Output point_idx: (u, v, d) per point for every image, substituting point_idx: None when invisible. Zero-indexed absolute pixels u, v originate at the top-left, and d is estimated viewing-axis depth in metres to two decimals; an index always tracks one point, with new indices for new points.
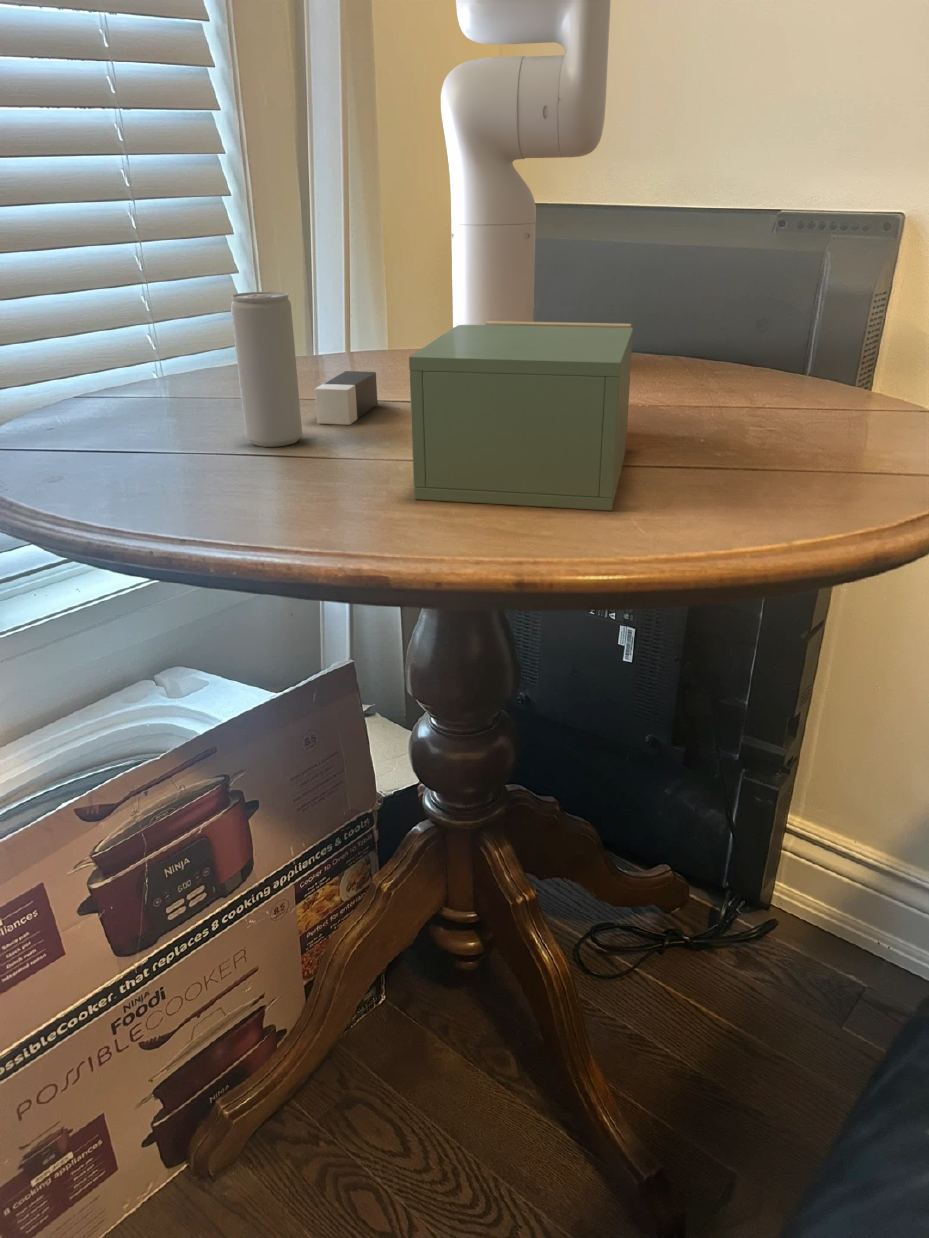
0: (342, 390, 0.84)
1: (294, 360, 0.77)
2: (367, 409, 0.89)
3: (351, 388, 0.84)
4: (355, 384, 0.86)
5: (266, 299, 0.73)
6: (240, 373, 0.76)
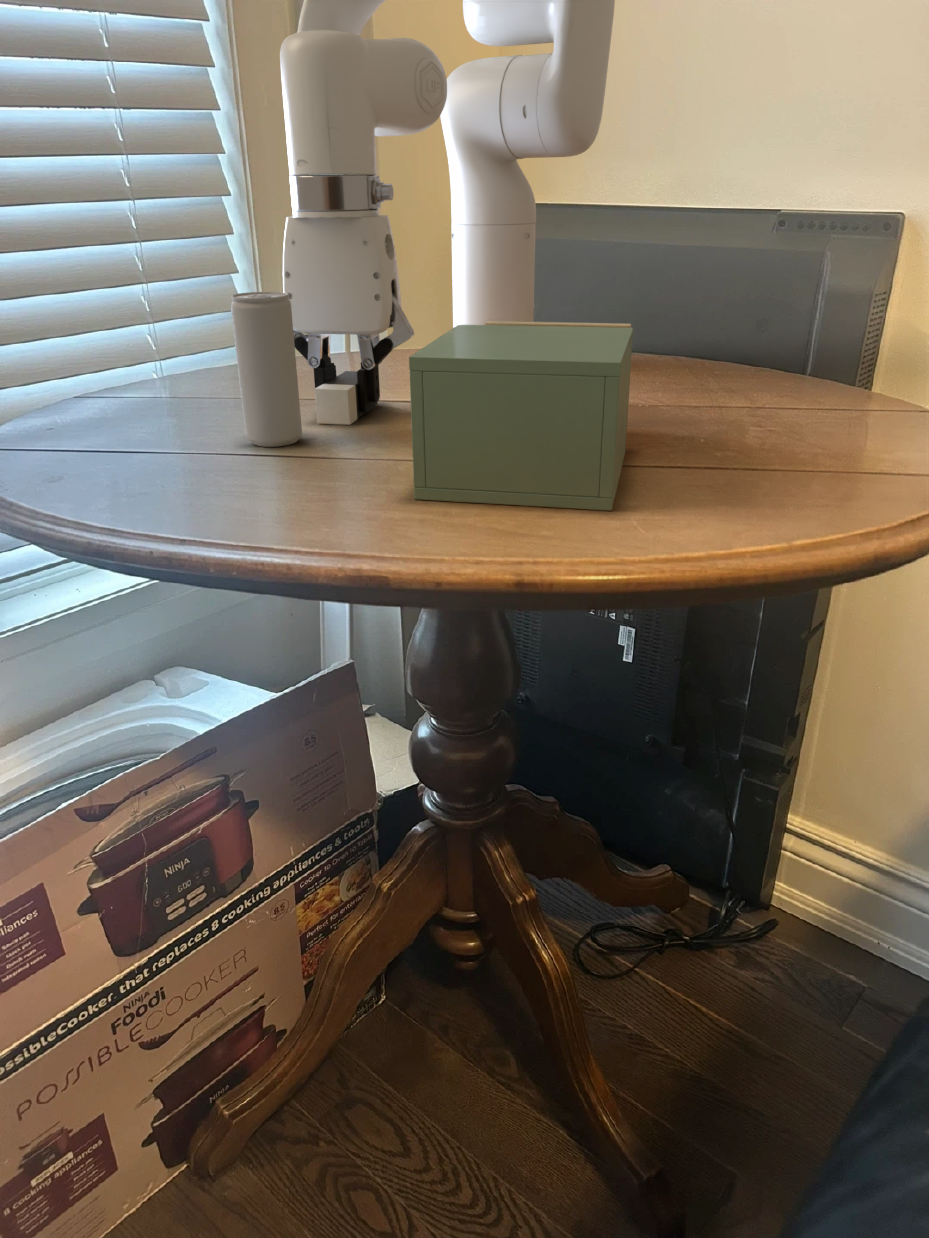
0: (342, 390, 0.84)
1: (294, 360, 0.77)
2: None
3: (351, 388, 0.84)
4: (355, 384, 0.86)
5: (266, 299, 0.73)
6: (240, 373, 0.76)
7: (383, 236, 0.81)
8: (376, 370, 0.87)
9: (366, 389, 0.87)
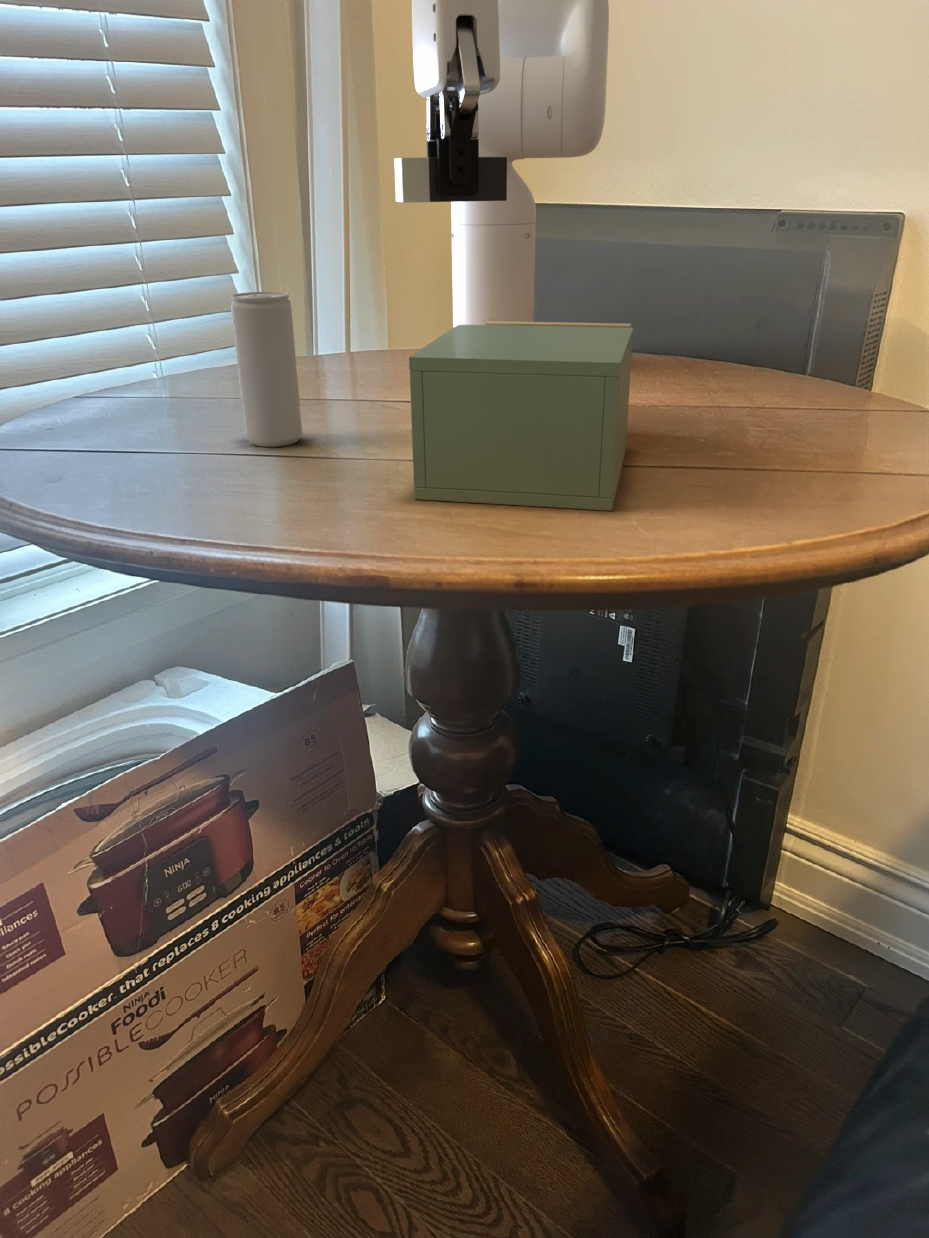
0: (400, 159, 0.72)
1: (294, 360, 0.77)
2: (467, 198, 0.74)
3: (414, 158, 0.72)
4: (432, 157, 0.73)
5: (266, 299, 0.73)
6: (240, 373, 0.76)
7: None
8: (464, 143, 0.71)
9: (445, 165, 0.72)
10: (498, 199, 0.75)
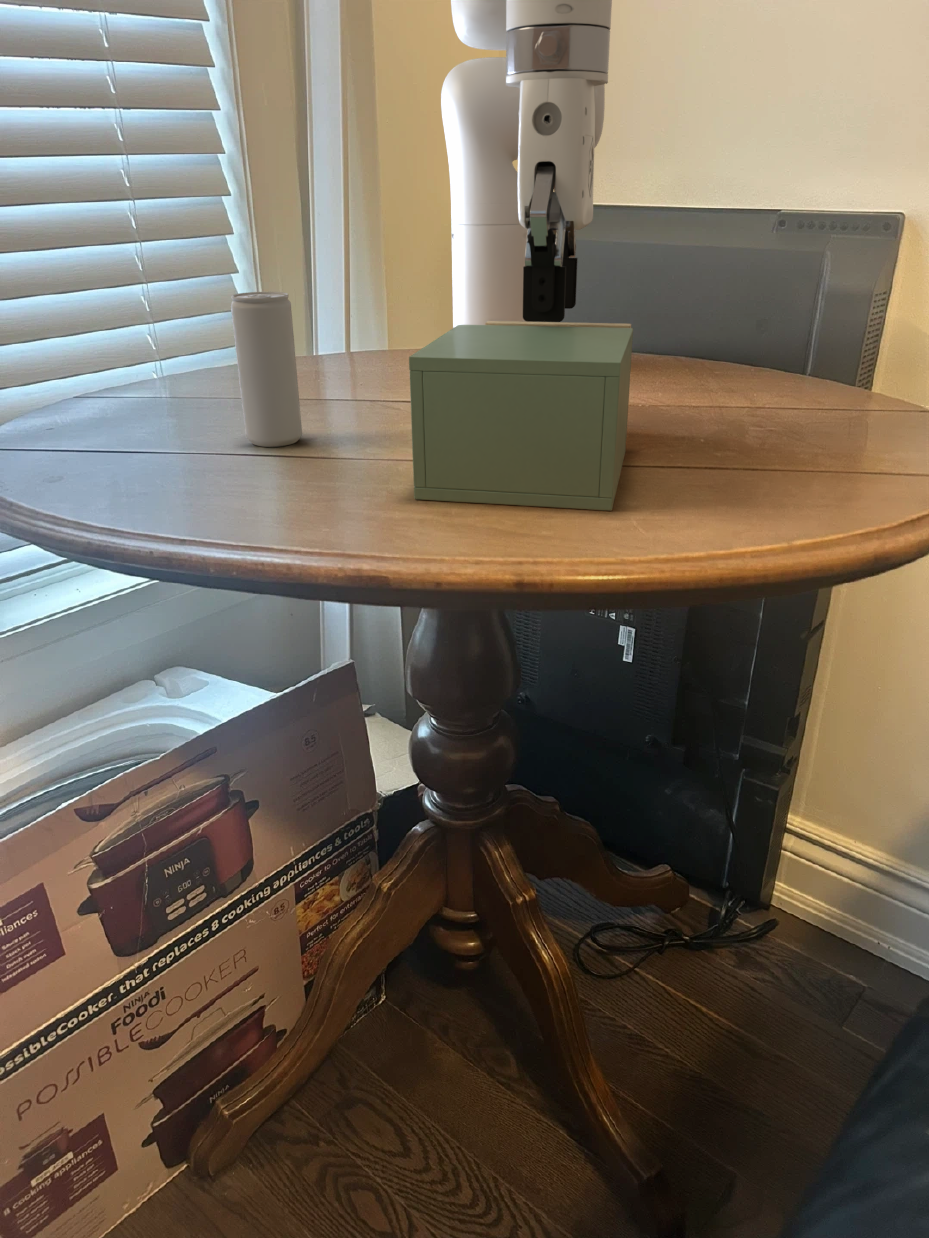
0: None
1: (294, 360, 0.77)
2: None
3: None
4: None
5: (266, 299, 0.73)
6: (240, 373, 0.76)
7: (534, 105, 0.65)
8: (546, 272, 0.69)
9: (529, 292, 0.71)
10: None
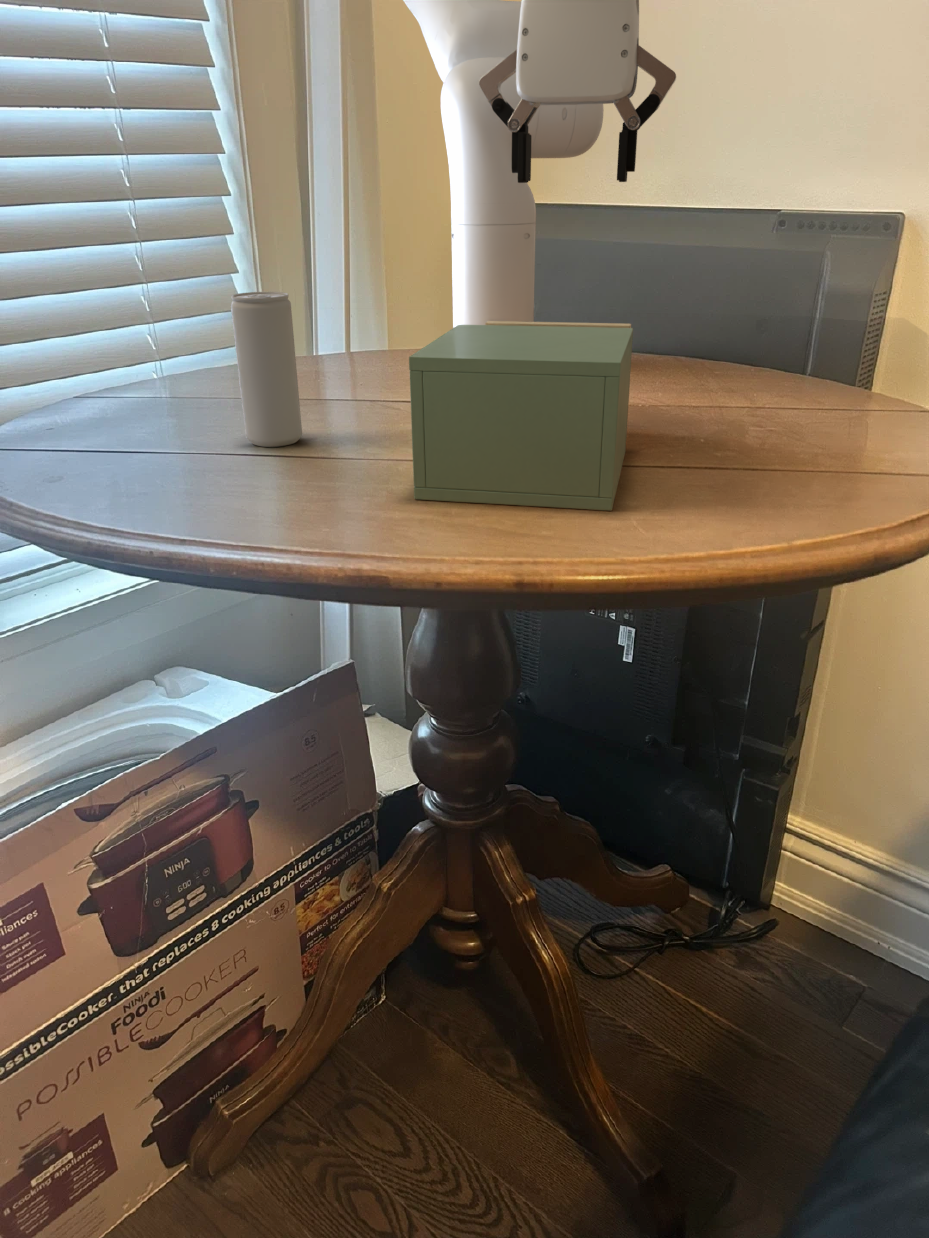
0: None
1: (294, 360, 0.77)
2: None
3: None
4: None
5: (266, 299, 0.73)
6: (240, 373, 0.76)
7: None
8: (636, 135, 0.80)
9: (626, 154, 0.80)
10: None
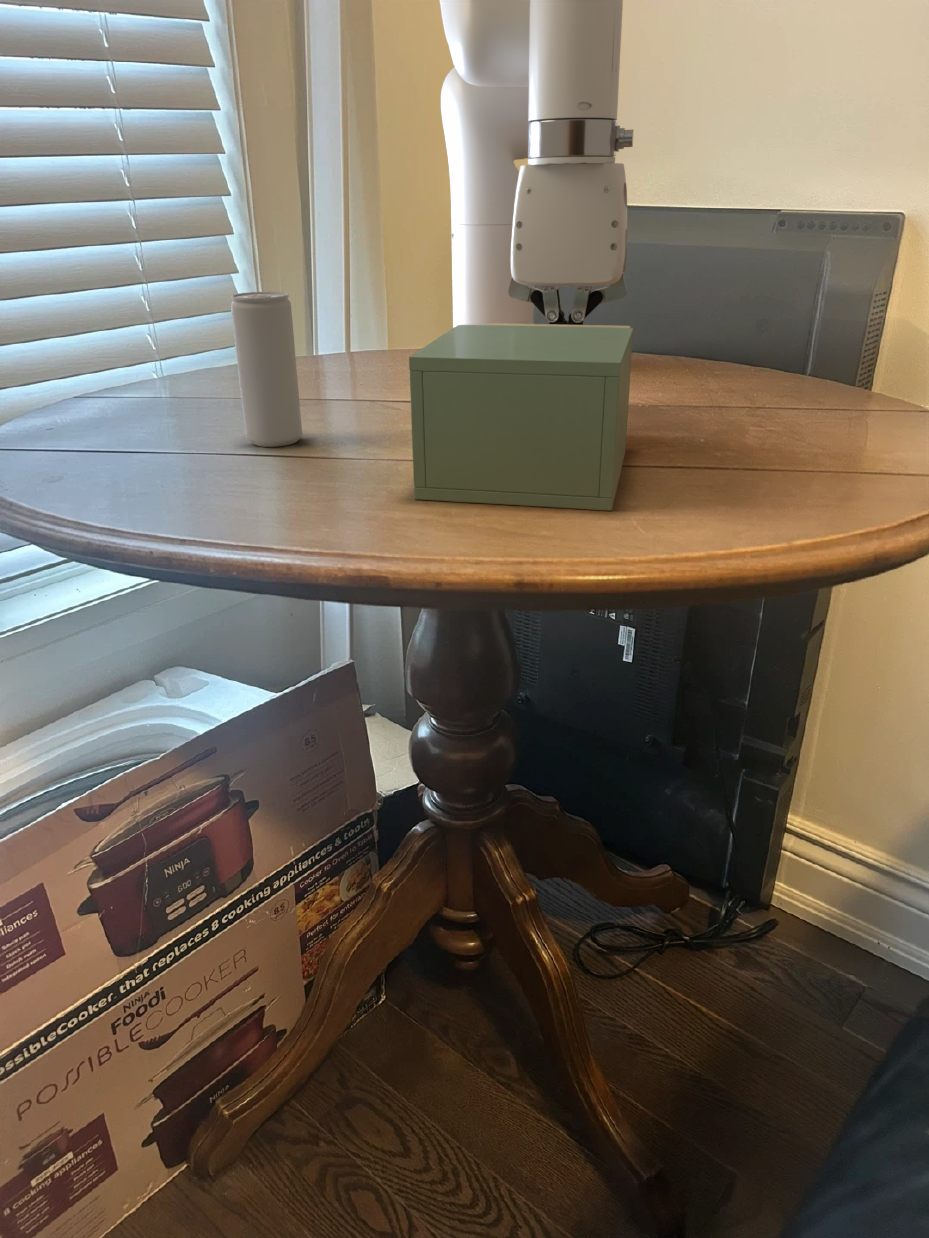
0: None
1: (294, 360, 0.77)
2: None
3: None
4: None
5: (266, 299, 0.73)
6: (240, 373, 0.76)
7: (622, 184, 0.79)
8: (582, 324, 0.86)
9: None
10: None
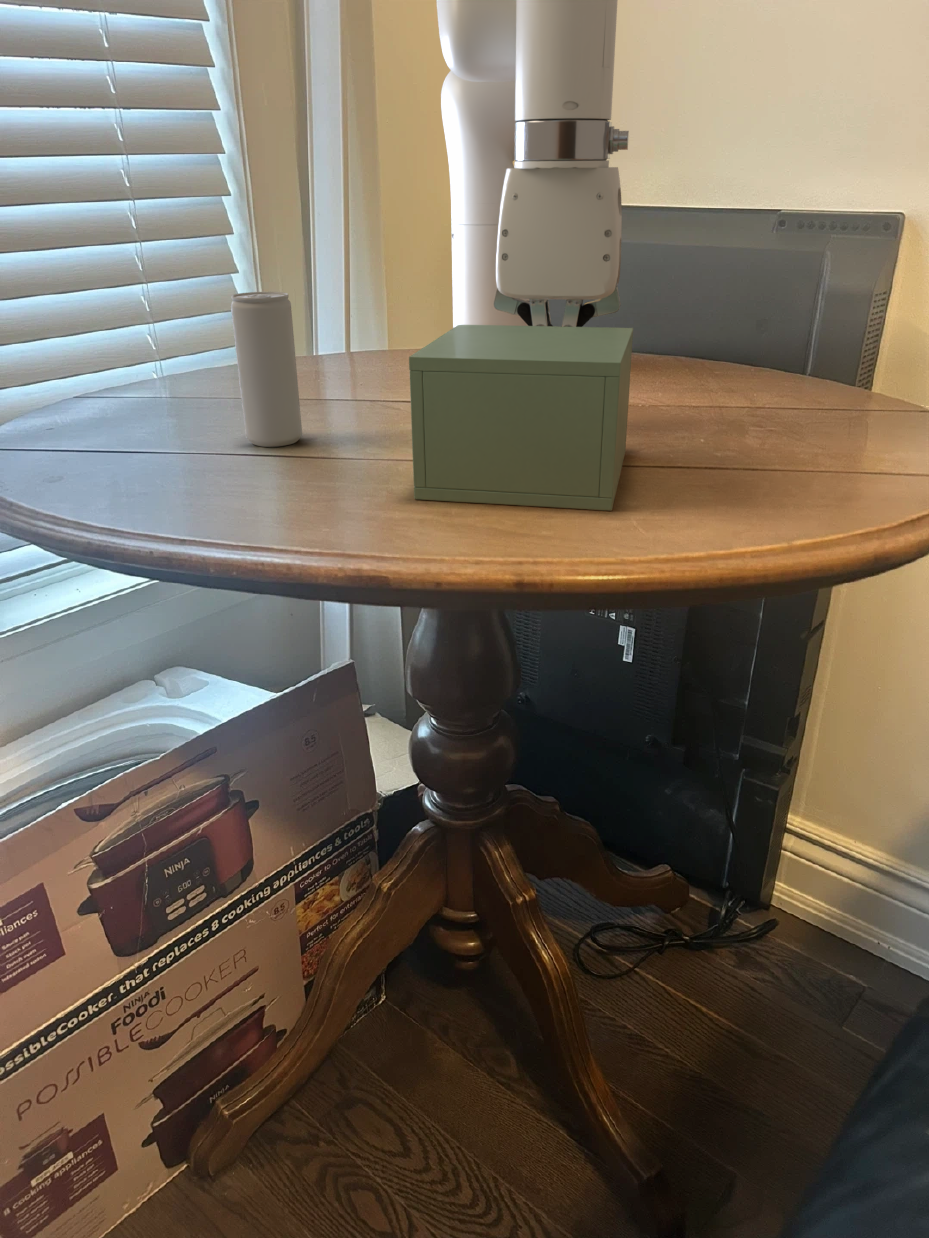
0: None
1: (294, 360, 0.77)
2: None
3: None
4: None
5: (266, 299, 0.73)
6: (240, 373, 0.76)
7: (616, 189, 0.73)
8: None
9: None
10: None
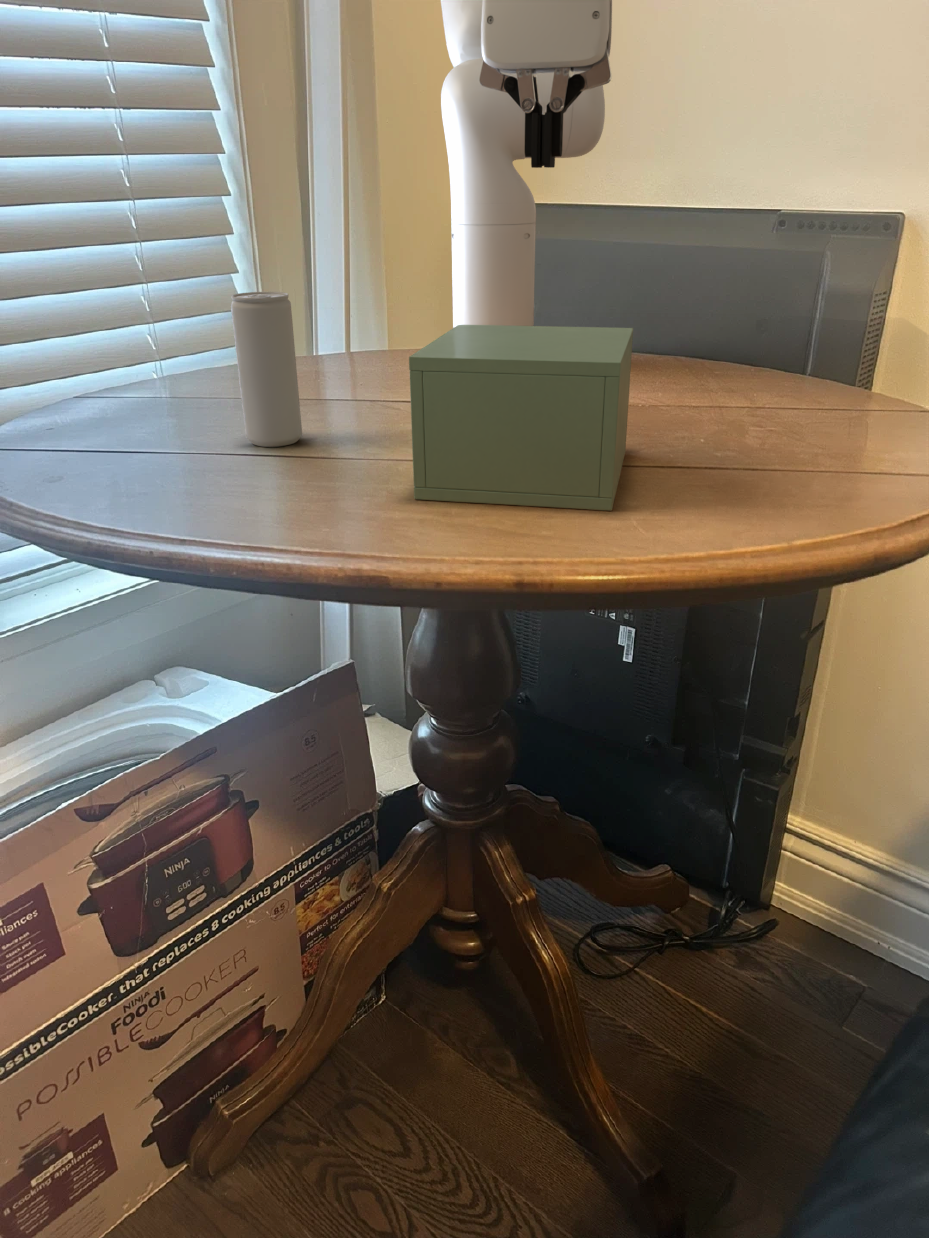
0: None
1: (294, 360, 0.77)
2: None
3: None
4: None
5: (266, 299, 0.73)
6: (240, 373, 0.76)
7: None
8: (562, 118, 0.77)
9: (551, 138, 0.76)
10: None
